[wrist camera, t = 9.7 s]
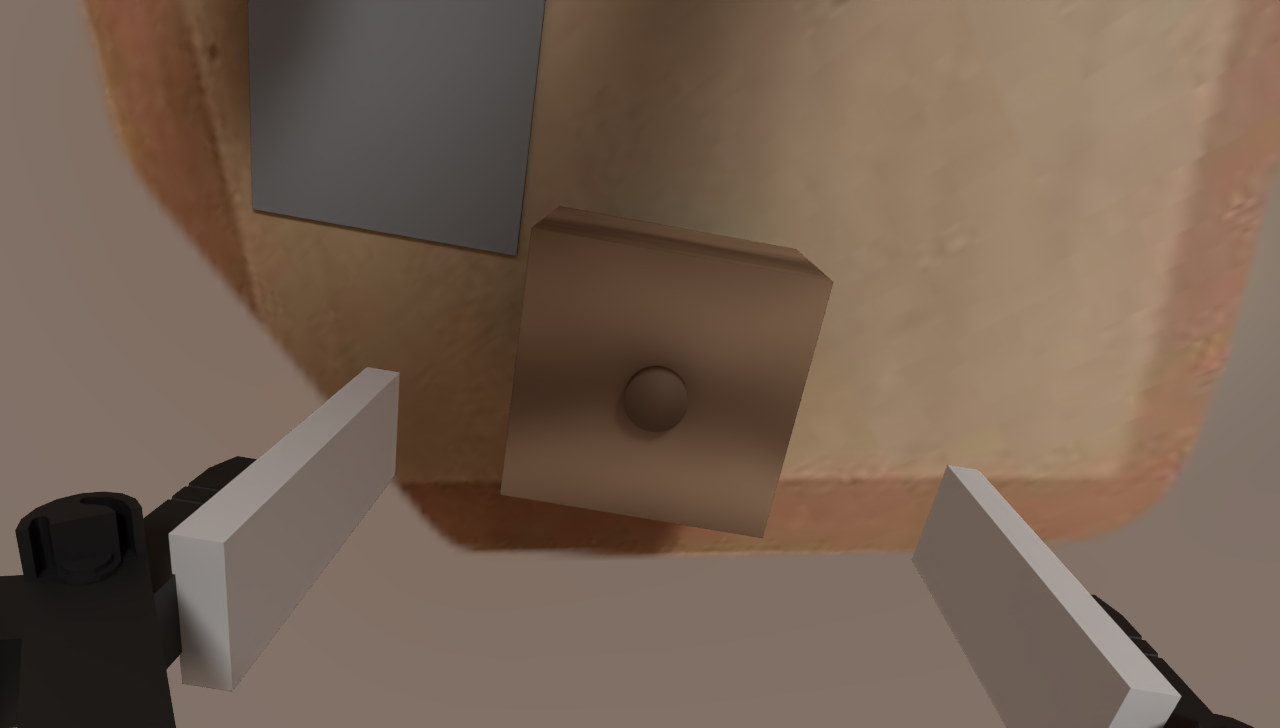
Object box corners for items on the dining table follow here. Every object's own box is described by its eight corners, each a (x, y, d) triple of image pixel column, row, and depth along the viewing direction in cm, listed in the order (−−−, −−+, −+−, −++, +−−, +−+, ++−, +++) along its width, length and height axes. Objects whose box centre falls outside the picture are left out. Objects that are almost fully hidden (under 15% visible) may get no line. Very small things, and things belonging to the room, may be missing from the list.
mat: (248, -99, 31) (245, -100, 30) (550, -41, 31) (549, -42, 31) (254, 208, 35) (252, 209, 35) (516, 255, 36) (516, 255, 35)
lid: (559, 206, 30) (527, 231, 23) (795, 248, 31) (839, 286, 23) (531, 423, 34) (495, 504, 27) (742, 459, 34) (765, 549, 27)
